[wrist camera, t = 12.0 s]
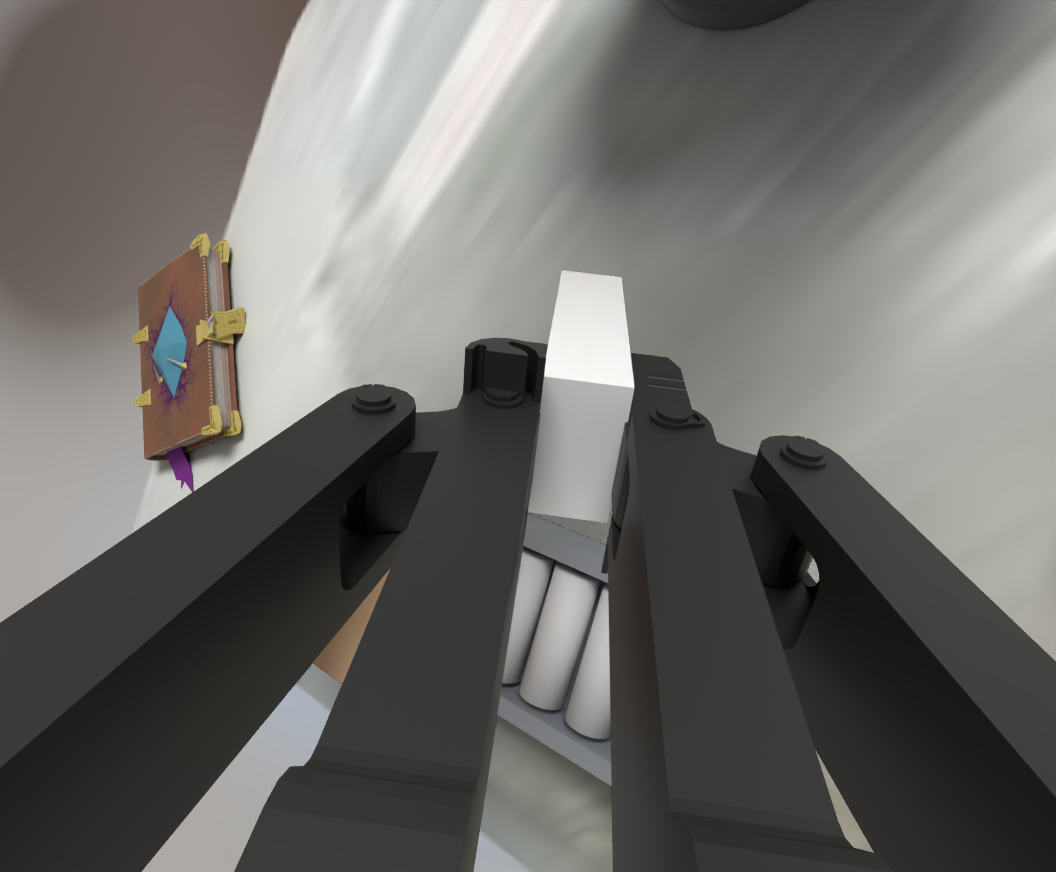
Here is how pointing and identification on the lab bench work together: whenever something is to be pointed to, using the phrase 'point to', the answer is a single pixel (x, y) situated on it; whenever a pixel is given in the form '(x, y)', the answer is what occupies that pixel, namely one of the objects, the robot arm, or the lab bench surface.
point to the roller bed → (510, 692)
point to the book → (188, 355)
